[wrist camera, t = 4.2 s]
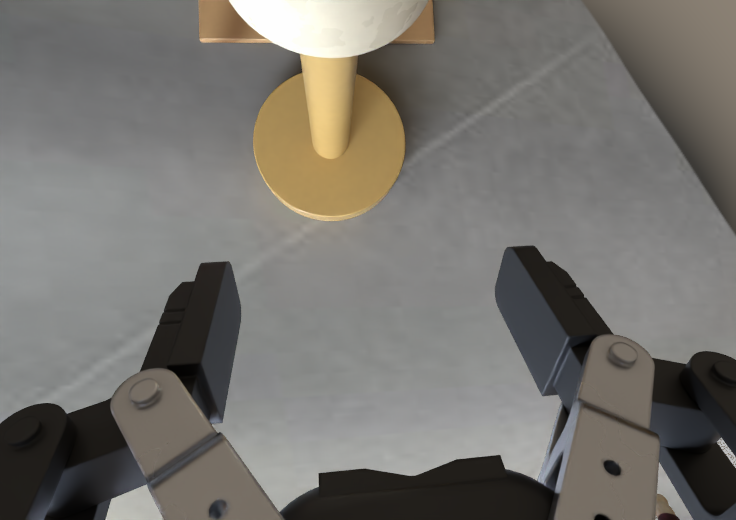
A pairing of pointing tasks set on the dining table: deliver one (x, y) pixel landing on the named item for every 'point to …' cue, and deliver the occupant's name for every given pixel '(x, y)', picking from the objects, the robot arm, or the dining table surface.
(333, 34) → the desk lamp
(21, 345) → the dining table surface
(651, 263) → the dining table surface
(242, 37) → the wooden board
